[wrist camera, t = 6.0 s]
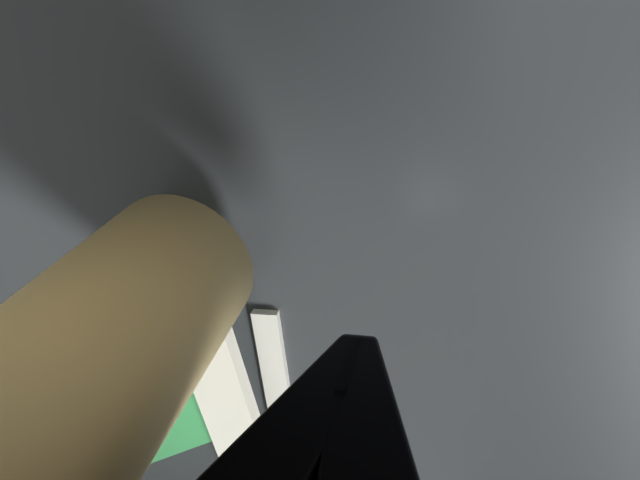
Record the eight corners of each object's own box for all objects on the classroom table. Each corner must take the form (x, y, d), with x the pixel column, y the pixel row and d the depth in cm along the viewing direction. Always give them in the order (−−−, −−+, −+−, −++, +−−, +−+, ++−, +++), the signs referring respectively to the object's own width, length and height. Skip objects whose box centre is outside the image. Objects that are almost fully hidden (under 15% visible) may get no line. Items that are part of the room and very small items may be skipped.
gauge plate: (658, 649, 17) (687, 747, 15) (81, 544, 22) (42, 606, 20) (1067, -395, 6) (1381, -575, 4) (-242, -136, 11) (-402, -158, 9)
